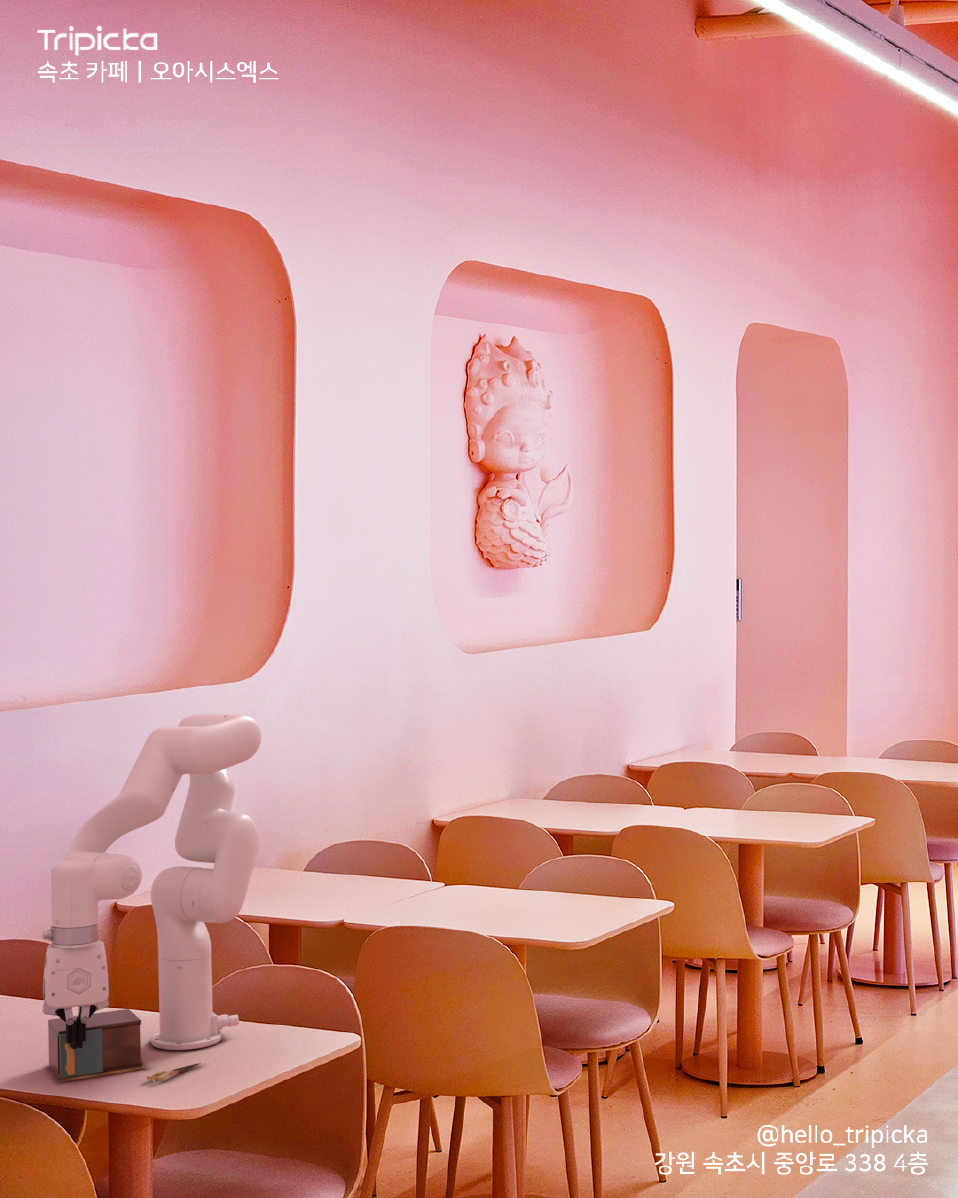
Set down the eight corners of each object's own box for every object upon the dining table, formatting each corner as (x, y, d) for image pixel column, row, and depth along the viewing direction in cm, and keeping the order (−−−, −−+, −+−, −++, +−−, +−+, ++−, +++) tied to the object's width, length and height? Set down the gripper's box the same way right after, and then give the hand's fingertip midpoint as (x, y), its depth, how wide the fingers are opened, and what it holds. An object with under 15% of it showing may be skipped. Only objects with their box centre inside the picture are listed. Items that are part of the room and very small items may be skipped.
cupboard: (129, 1054, 271) (128, 1008, 271) (144, 1069, 261) (143, 1022, 261) (49, 1066, 265) (48, 1019, 265) (61, 1082, 255) (60, 1034, 255)
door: (102, 1071, 259) (101, 1028, 259) (107, 1077, 256) (106, 1034, 256) (60, 1077, 256) (59, 1034, 256) (65, 1084, 252) (64, 1040, 253)
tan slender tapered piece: (197, 1065, 263) (197, 1057, 263) (208, 1067, 261) (208, 1059, 261) (144, 1083, 253) (144, 1075, 253) (155, 1086, 252) (155, 1077, 252)
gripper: (32, 944, 248) (33, 1058, 247) (125, 934, 254) (126, 1046, 254) (24, 936, 254) (25, 1047, 254) (114, 927, 261) (115, 1036, 260)
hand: (75, 1046), depth 254 cm, fingers closed
